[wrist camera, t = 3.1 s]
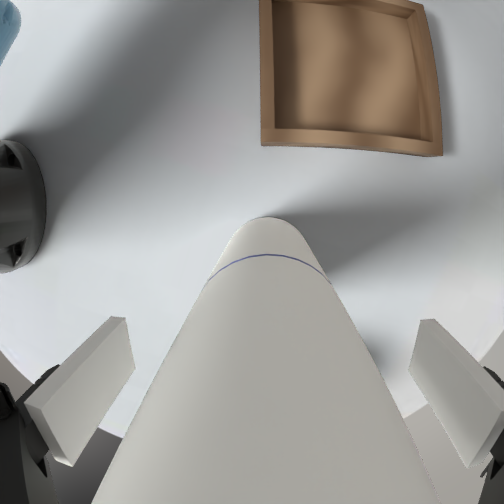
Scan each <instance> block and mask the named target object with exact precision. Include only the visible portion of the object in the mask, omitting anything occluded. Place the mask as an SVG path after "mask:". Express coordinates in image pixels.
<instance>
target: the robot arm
mask: <svg viewBox="0 0 504 504" xmlns="http://www.w3.org/2000/svg"><path fill="white" fill-rule="evenodd" d="M20 27H21V15H20V12H19V10H18V8H17V7H16V6H15V5H14V4H13V3H12V2H11V1H10V0H0V66H1V64H2V62H3V60H4V58H5V56H6V54H7V53H8V51H9V49H10V47H11V45H12V44H13V42H14V40H15V38H16V37H17V35H18V33H19V30H20ZM45 218H46V197H45V189H44V183H43V179H42V175H41V172H40V169H39V166H38V164H37V162H36V160H35V158H34V157H33V155H32V154H31V152H30V151H29V150H28V149H27V148H26V147H25V146H24V145H22V144H21V143H19V142H16V141H9V140H0V273H8V272H11V271H13V270H16V269H18V268H20V267H22V266H24V265H26V264H27V263H28V262H29V261H30V260H31V259H32V258H33V256H34V255H35V253H36V252H37V250H38V248H39V245H40V242H41V240H42V236H43V232H44V227H45ZM135 369H136V368H135V364H134V359H133V354H132V350H131V345H130V340H129V334H128V329H127V323H126V318H122V317H112V316H111V317H110V318H109V319H108V320H107V321H106V322H105V323H104V324H102V325H101V326H100V327H99V328H98V329H97V330H96V331H95V332H94V333H93V334H92V335H91V336H90V337H89V338H88V339H87V340H86V341H85V342H84V343H83V344H82V345H80V346H79V347H78V348H77V349H76V350H75V351H74V352H73V353H72V354H71V355H70V356H69V357H68V358H67V359H66V360H65V361H64V362H63V363H62V364H61V365H59V364H58V365H56V366H54V367H52V368H50V369H48V370H47V371H46V372H45V373H44V374H43V375H42V376H41V378H40V379H38V380H37V381H36V382H35V384H33V385H32V386H31V387H30V388H29V389H28V390H27V391H26V392H25V393H24V394H23V395H22V396H21V397H20V398H19V399H18V400H17V401H16V402H15V400H14V398H13V396H12V394H11V392H10V390H9V388H8V386H7V385H6V384H4V383H1V382H0V504H59V502H58V499H57V495H56V491H55V488H54V484H53V480H52V476H51V471H50V467H49V462H48V460H47V458H46V456H45V455H46V453H47V452H48V450H50V452H51V453H52V455H53V457H54V458H55V460H57V461H59V462H62V463H64V464H66V465H69V466H73V465H74V463H75V462H76V460H77V458H78V457H79V455H80V454H81V452H82V451H83V449H84V447H85V446H86V444H87V442H88V441H89V439H90V438H91V436H92V435H93V433H94V432H95V430H96V428H97V427H98V425H99V424H100V422H101V421H102V419H103V417H104V416H105V414H106V413H107V411H108V410H109V408H110V407H111V405H112V404H113V402H114V400H115V399H116V397H117V396H118V394H119V393H120V391H121V390H122V388H123V387H124V385H125V384H126V382H127V381H128V379H129V378H130V376H131V375H132V373H133V372H134V370H135ZM408 371H409V373H410V374H411V376H412V377H413V379H414V381H415V382H416V384H417V385H418V387H419V388H420V390H421V392H422V393H423V395H424V397H425V398H426V400H427V401H428V403H429V405H430V406H431V408H432V410H433V411H434V413H435V415H436V416H437V418H438V420H439V421H440V423H441V425H442V426H443V428H444V430H445V432H446V433H447V435H448V437H449V439H450V440H451V442H452V444H453V446H454V447H455V449H456V451H457V453H458V455H459V456H460V458H461V460H462V462H463V464H464V465H465V467H466V469H468V468H471V467H473V466H475V465H478V464H480V463H482V462H483V461H484V459H485V458H486V456H487V455H488V454H489V452H491V454H492V455H493V458H492V460H491V461H490V463H489V464H488V465H487V467H486V468H485V470H484V471H483V472H482V474H481V476H480V477H483V476H484V475H485V473H486V472H487V476H486V479H485V483H484V486H483V490H482V493H481V497H480V500H479V503H478V504H504V382H503V381H501V379H500V378H499V377H498V375H497V374H496V373H495V372H493V371H492V370H490V369H488V368H486V367H482V366H481V365H480V364H479V363H478V362H477V361H476V360H475V359H474V358H473V357H472V356H471V355H470V353H469V352H468V351H467V350H466V349H465V348H464V347H463V346H462V345H461V344H460V343H459V342H458V341H457V340H456V339H455V338H454V337H453V336H452V335H451V334H450V333H449V332H447V331H446V330H445V329H444V328H443V327H442V326H441V325H440V324H439V323H438V322H437V321H436V320H435V319H425V320H420V325H419V330H418V334H417V338H416V343H415V347H414V351H413V355H412V358H411V362H410V366H409V369H408Z"/></svg>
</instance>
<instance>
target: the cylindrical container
mask: <svg viewBox="0 0 504 504" xmlns="http://www.w3.org/2000/svg"><path fill="white" fill-rule="evenodd" d="M91 504H441V502H440V499H439V497H438V495H437V492H436V490H435V487H434V485H433V483H432V481H431V478H430V476H429V474H428V471H427V469H426V467H425V465H424V463H423V460H422V458H421V456H420V454H419V451H418V449H417V447H416V445H415V443H414V441H413V439H412V437H411V434H410V432H409V430H408V428H407V426H406V424H405V422H404V420H403V418H402V416H401V414H400V412H399V410H398V408H397V405H396V403H395V401H394V399H393V397H392V395H391V394H390V392H389V390H388V388H387V386H386V384H385V382H384V380H383V378H382V376H381V374H380V372H379V370H378V368H377V366H376V364H375V362H374V361H373V359H372V357H371V355H370V353H369V351H368V349H367V347H366V346H365V344H364V342H363V340H362V338H361V336H360V335H359V333H358V331H357V329H356V327H355V325H354V324H353V322H352V320H351V318H350V316H349V315H348V313H347V311H346V309H345V307H344V306H343V304H342V302H341V300H340V299H339V297H338V295H337V293H336V292H335V290H334V288H333V286H332V285H331V283H330V281H329V279H328V278H327V276H326V274H325V273H324V271H323V269H322V267H321V266H320V264H319V262H318V261H317V259H316V257H315V256H314V254H313V252H312V251H311V249H310V247H309V246H308V244H307V242H306V241H305V239H304V237H303V236H302V234H301V233H300V232H299V231H298V230H297V228H295V227H294V226H293V225H291V224H290V223H288V222H286V221H284V220H282V219H278V218H273V217H263V218H257V219H254V220H251V221H249V222H247V223H245V224H244V225H242V226H241V227H240V228H239V229H238V230H237V231H236V232H235V233H234V235H233V236H232V237H231V239H230V241H229V243H228V244H227V246H226V248H225V250H224V251H223V253H222V255H221V257H220V259H219V260H218V262H217V264H216V266H215V267H214V269H213V271H212V273H211V275H210V276H209V278H208V280H207V282H206V284H205V285H204V287H203V289H202V291H201V293H200V294H199V296H198V298H197V300H196V302H195V303H194V305H193V307H192V309H191V311H190V313H189V314H188V316H187V318H186V320H185V322H184V324H183V325H182V327H181V329H180V331H179V333H178V335H177V337H176V338H175V340H174V342H173V344H172V346H171V348H170V350H169V351H168V353H167V355H166V357H165V359H164V361H163V363H162V365H161V366H160V368H159V370H158V372H157V374H156V376H155V378H154V380H153V382H152V384H151V385H150V387H149V389H148V391H147V393H146V395H145V397H144V399H143V401H142V403H141V405H140V407H139V409H138V410H137V412H136V414H135V416H134V418H133V420H132V422H131V424H130V426H129V428H128V430H127V432H126V434H125V436H124V438H123V440H122V442H121V444H120V446H119V448H118V450H117V452H116V454H115V456H114V458H113V460H112V462H111V464H110V466H109V468H108V470H107V472H106V474H105V476H104V479H103V480H102V482H101V484H100V486H99V489H98V491H97V493H96V495H95V497H94V499H93V501H92V503H91Z"/></svg>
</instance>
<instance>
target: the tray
mask: <svg viewBox="0 0 504 504" xmlns="http://www.w3.org/2000/svg"><path fill="white" fill-rule="evenodd" d="M259 26H260V99H261V146H298V147H324V148H342V149H356V150H368V151H379V152H389V153H398V154H407V155H415V156H422V157H434V156H443V145H442V122H441V108H440V97H439V88H438V80H437V72H436V65H435V59H434V53H433V48H432V42H431V37H430V32H429V28H428V23H427V19H426V15H425V11H424V7H423V5H422V4H418V3H415V2H412V1H408V0H259Z"/></svg>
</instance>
